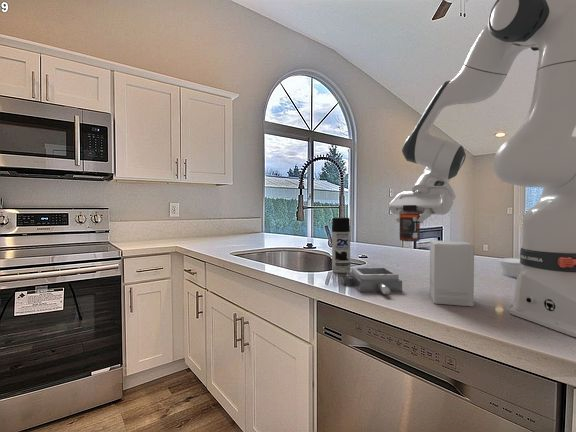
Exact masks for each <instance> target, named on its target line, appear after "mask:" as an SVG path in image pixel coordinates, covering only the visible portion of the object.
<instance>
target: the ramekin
mask: <svg viewBox="0 0 576 432" xmlns="http://www.w3.org/2000/svg"><path fill="white" fill-rule="evenodd" d="M498 263H499V264H500V270H501V274H503V275H504V276H505V277H509V278H515V279H517V276H518V275H519V273H520V271H521V268H522V264H521V263H520V257H519V258H517V257H515V258H514V257H506V258H505V257H504V258H499V260H498Z"/></svg>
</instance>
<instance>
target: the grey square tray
mask: <svg viewBox="0 0 576 432" xmlns="http://www.w3.org/2000/svg"><path fill="white" fill-rule="evenodd" d="M340 279H341V280H340V282H341V284H342V286H354V287H355V289H356V290H357V291H358V292H359V293H382V294H383V295H385V296H388V295H390V294H391V293H395V292H399V293H401V292H403V280H401V279H400V278H399V273H397V272H395V271H393V270H391V269H390V268H388V267H385V266H384V267H373V266H372V267H351V270H350V272H349V273H348V275H341V278H340Z"/></svg>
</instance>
